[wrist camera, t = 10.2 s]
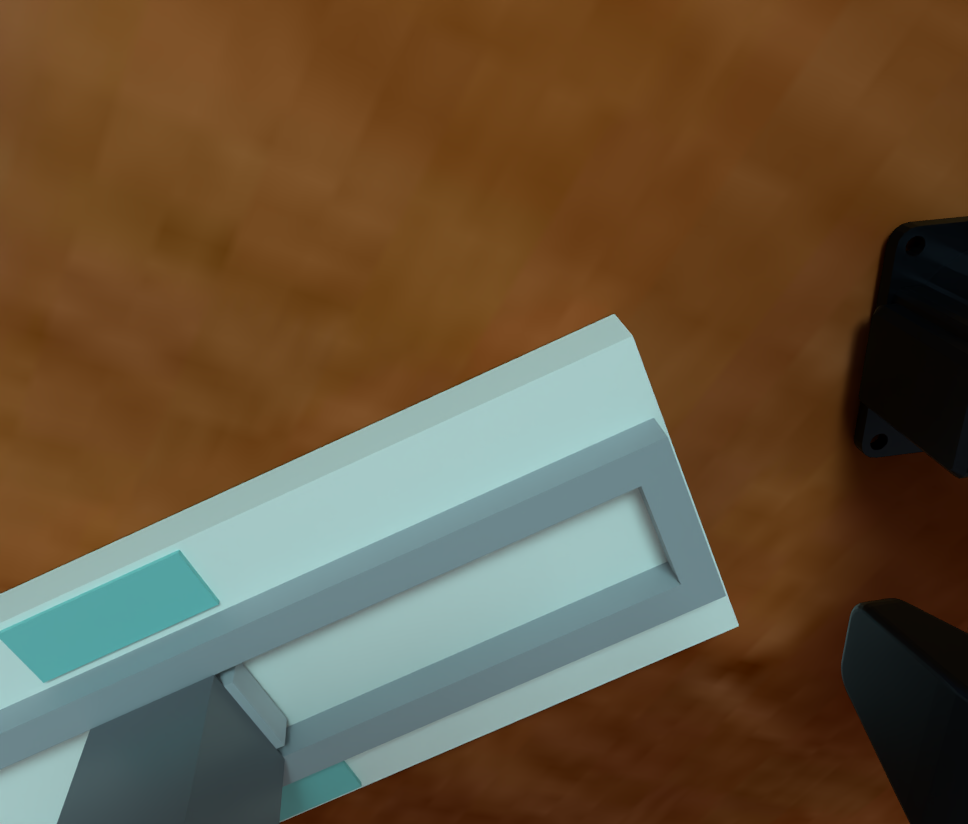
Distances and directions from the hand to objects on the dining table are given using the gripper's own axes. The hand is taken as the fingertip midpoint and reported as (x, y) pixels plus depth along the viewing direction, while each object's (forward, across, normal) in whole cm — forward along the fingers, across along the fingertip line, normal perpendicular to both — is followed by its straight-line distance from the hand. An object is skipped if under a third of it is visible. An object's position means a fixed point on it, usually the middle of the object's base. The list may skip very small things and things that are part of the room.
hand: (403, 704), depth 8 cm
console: (+13, +6, +11) cm, 18 cm away
